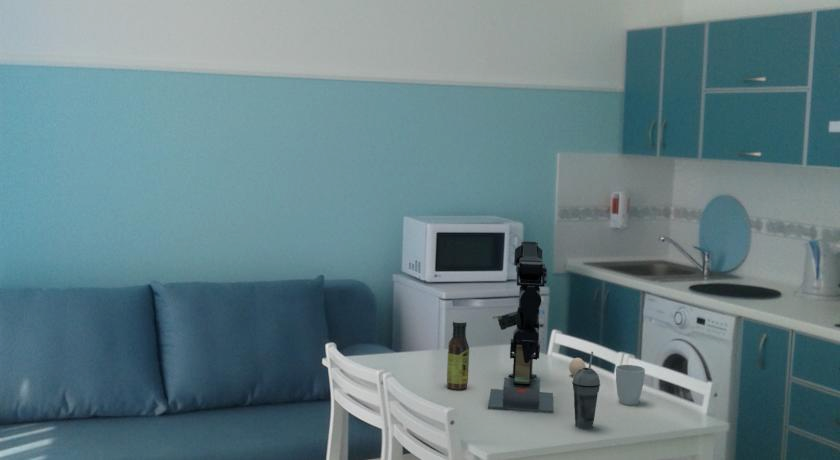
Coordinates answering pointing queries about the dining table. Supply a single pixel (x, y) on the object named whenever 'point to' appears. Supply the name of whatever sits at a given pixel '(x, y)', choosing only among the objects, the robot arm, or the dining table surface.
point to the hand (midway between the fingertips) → (526, 359)
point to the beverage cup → (585, 396)
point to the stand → (521, 397)
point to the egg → (576, 365)
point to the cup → (629, 383)
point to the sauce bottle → (458, 357)
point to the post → (521, 367)
